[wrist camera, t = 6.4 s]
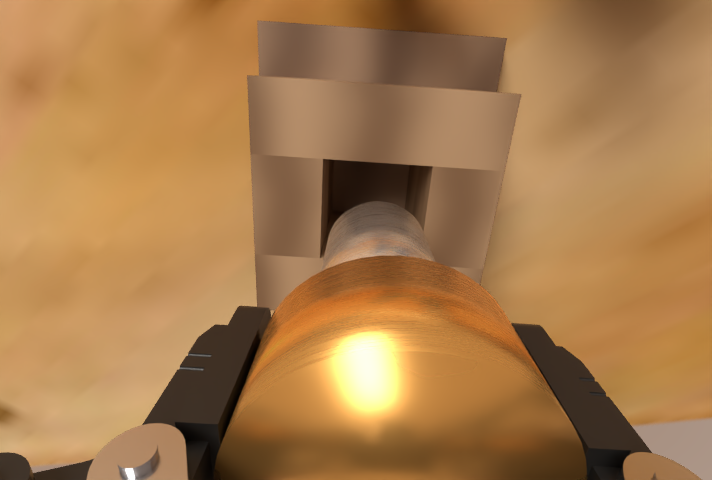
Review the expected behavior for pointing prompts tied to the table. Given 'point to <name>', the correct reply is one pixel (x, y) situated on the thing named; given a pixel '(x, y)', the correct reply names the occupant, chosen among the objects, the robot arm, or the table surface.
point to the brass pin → (394, 374)
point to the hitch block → (373, 141)
